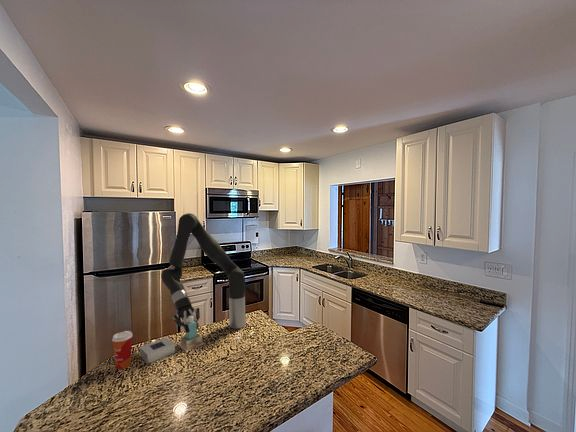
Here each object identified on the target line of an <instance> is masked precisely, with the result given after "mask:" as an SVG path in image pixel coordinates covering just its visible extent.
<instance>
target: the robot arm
mask: <svg viewBox="0 0 576 432" xmlns="http://www.w3.org/2000/svg"><path fill="white" fill-rule="evenodd" d="M191 235H192V236H194V238H195V240H196V241H197V242H198V245H199V246H200V249H201V250H202V251H203V253H204V254H205V255H206V256H207V258H208V259H209V260H210V261H212V262H213V263H214V264H215V265H216V266H218V267H220V268H221V270H222V271H223V272H224V273H225V275H226V277H227V279H228V308H229V309H228V311H229V313H228V315H229V316H228V318H229V319H228V320H229V321H228V322H229V324H228V325H229V328H231V329H234V330H235V329H236V330H237V329H238V330H239V329H242V328H245V326H246V276H245V273H244V270H243V269H241V268H240V267H239V266H238V265H237V264H235V263H234V262H233V260H231V258H230V257H229V255H228V254H227V252H226V251H225V249H224V248H223V247H222V246H221V245H220V243H219V242H218V241H217V240H216V239H215V238H214V237H213V236H212V235H211V234H210V233H209V232H208V231H207V230H206V229H205V227H204V226H203V225H202V223H201V221H200V220H199V218H198V217H197V215H195V214H194V213H184V214H182V215H181V216H180V218H179V219H178V225H177V233H176V238H175V242H174V244H173V247H172V250H171V253H170V257H169V259H168V264H169V265H170V266H172V267H174V268H167V269H164V270H163V271H162V272H161V275H160V277H161V281H162V282H163V284H164V285H165V286H166V288H167V289H168V291H169V292H170V296H171V297H172V301H173V304H174V308H175V310H176V313H177V314H174V315H173V317H172V320H173V321H174V322H175V324H176V325H177V326H178V327H179V328H180V327H183V329H184V332H187V333H189V332H190V330H189V328H188V325H187V322H188V321H187V320H188V316H193V317H194V321H195V322H197V330H199V327H200V324H199V323H198V321H199V319H201V318H200V317H201V315H200V314H201V313H200V308H199V307H197V308H194V307H193V305H192V303H191V300H190V298H189V295H188V293H187V291H186V289H185V287H184V284H183V283H182V282H180V280H181V278H182V275H183V262H184V261H185V260H184V259H185V256H186V252H187V246H188V243H189V242H188V241H189V238H190V236H191Z"/></svg>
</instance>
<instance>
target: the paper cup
mask: <svg viewBox="0 0 576 432" xmlns="http://www.w3.org/2000/svg"><path fill="white" fill-rule="evenodd" d="M133 335H134V334H133V332H132V331H130V330H123V331H120V332H117V333H115V334H114V335H113V336H112V339H111V341H112V345H113V354H114V364H115V366H114V367H115V369H116V370H118V369H121V370H124V369H123V368H125V369H127V368H128V367H130V366H131V364H132V363H131V362H132V349H133V348H132V346H133V343H132V342H133Z"/></svg>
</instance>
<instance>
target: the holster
mask: <svg viewBox="0 0 576 432" xmlns="http://www.w3.org/2000/svg"><path fill="white" fill-rule="evenodd" d="M179 338H180V342H179V343H177V346H178V347H180V348H181V349H182V350H183V351H185V352H188V351H191V350H194V349H196V348H198V347H201V346H203V345H205V344H206V343H205V342H204V341H203V337H202V336H201V334H199V333H197V338H194V339H192V340H189V341H188V340H187V339H186V334H185V335H183V336H180V337H179Z"/></svg>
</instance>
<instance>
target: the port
mask: <svg viewBox="0 0 576 432" xmlns="http://www.w3.org/2000/svg"><path fill="white" fill-rule="evenodd" d="M174 354H176V345H175V343H174V342H173V341H171V340H170V339H169V338H168V337H164V338H161V339H158V340H155V341H152V342H150V343H148V344H144V345H141V346H140V347H139V357H140V359H141V360H142V362H143V363H144V364H146V365H147V367H148V366H150V365H152V363H155V362H157V361H159V360H160V359H164V358H166V357H168V356H170V355H174Z"/></svg>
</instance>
